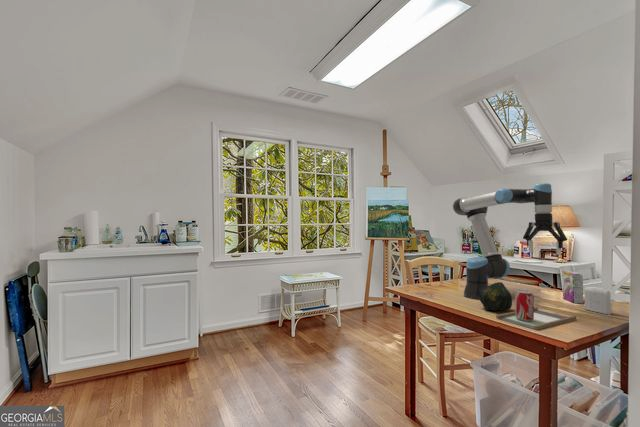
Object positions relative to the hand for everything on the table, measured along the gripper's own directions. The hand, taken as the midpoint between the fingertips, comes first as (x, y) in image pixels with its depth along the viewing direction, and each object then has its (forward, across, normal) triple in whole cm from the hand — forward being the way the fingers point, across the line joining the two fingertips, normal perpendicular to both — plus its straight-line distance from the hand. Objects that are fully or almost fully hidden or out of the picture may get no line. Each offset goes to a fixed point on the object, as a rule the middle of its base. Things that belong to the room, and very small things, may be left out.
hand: (544, 253), depth 165 cm
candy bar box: (+29, +2, -30) cm, 42 cm away
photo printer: (+29, -15, -17) cm, 37 cm away
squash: (+29, +11, +24) cm, 39 cm away
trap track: (+29, -8, +22) cm, 37 cm away
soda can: (+29, -7, +29) cm, 41 cm away
